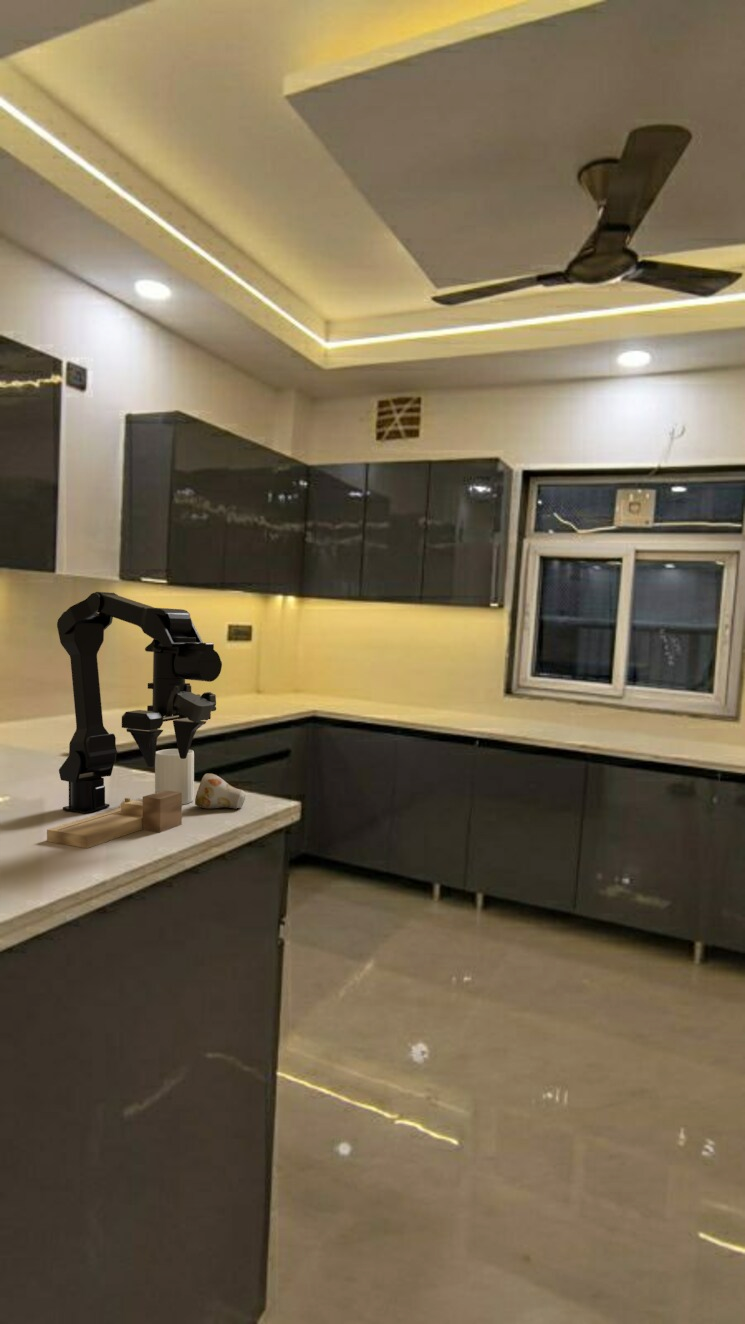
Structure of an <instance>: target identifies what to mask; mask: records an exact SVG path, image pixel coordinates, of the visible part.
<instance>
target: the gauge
mask: <svg viewBox="0 0 745 1324" xmlns="http://www.w3.org/2000/svg"><path fill="white" fill-rule="evenodd" d="M120 808H121V812H123V813H130V814H136V815H143V829H142V830H144V831H150V832H156V833H157V832H158V833H162V832H165V831H167V830H171V829H174V828H176V827H178V826H181V825H183V821H182V819H183V816H182V815H183V805H182V792H174V791H166V790H164V791H160V792H157V793H155V792H154V793H150V794H147V795H144V796H142V801H139V800H133V799H132V800H131V797H125V798H124V801H122V802H120Z"/></svg>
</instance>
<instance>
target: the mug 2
mask: <svg viewBox="0 0 745 1324" xmlns="http://www.w3.org/2000/svg"><path fill="white" fill-rule="evenodd" d="M194 782H195V752H194V750H193V749H189V751H188V754H187V757H186V759H181V758H180V755H179V752H178V748H168V749H167V748H166V749H161V750H156V757H155V764H154V793H157V792H160V791H164V790H166V791H174V792H182V806H183V805H186V804H190V803H193V801H195V798H194V797H195V795H194V794H195V783H194Z"/></svg>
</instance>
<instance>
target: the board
mask: <svg viewBox="0 0 745 1324" xmlns="http://www.w3.org/2000/svg"><path fill="white" fill-rule="evenodd" d="M141 830H143V815H136V814H130V813H123V812H121V807H117V808H115V809H111V810H108V811H104V812H101V813H98V814H95V815H90V816H89V817H84V818H81V819H77V820H75V821H71V822H67V823H65V824H62V825H57V826H54V827H51V828H48V829H46V842H50V843H54V844H55V843H56V844H62V845H66V846H67V845H68V846H73V847H78V848H83V849H89V848H92V847H95V846H98V845H100V844H103V843H106V842H109V841H112V840H115V839H117V838H120V837H124V836H126V835H129V834H132V833H136V832H138V831H141Z"/></svg>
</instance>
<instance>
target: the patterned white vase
mask: <svg viewBox="0 0 745 1324" xmlns="http://www.w3.org/2000/svg"><path fill="white" fill-rule="evenodd" d="M245 801H246V794H245V792H244V790H242V789H239V788H236V787H234V786H232V785H231V784H229V783H228V782H227V781H226V780H224V779H223V778H221V777H220V776H218V775H217V774H214V773H205V774H204V775H203V776H202V778H201V779H200V783H199V785H198V789H197V791H196V795H195V798H194V805H195V806H197V807H199V808H201V809H206V810H208V809H209V810H211V809H219V808H220V809H222V808H230V809H233V810H238V809H237V808H239V809H241V808H242V807H243V806H244V804H245Z"/></svg>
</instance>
